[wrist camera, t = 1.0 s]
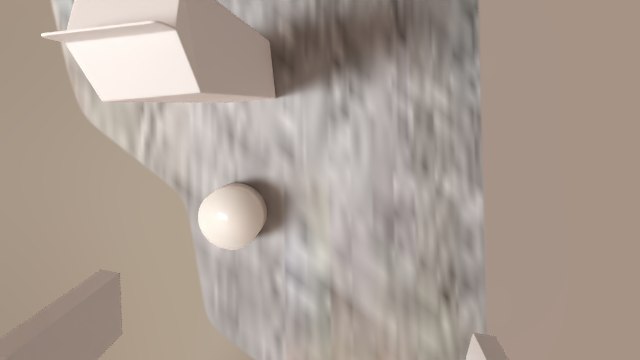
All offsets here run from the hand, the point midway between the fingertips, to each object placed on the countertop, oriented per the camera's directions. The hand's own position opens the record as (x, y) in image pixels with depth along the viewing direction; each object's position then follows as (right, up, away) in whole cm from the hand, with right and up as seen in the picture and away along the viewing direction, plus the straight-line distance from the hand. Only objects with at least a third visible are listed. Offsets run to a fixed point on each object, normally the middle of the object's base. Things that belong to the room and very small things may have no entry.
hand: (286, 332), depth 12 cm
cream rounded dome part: (-9, +2, +28) cm, 29 cm away
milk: (-7, +17, +24) cm, 31 cm away
